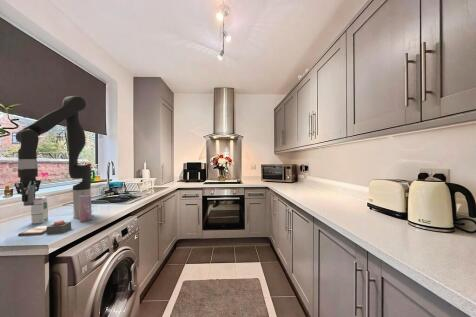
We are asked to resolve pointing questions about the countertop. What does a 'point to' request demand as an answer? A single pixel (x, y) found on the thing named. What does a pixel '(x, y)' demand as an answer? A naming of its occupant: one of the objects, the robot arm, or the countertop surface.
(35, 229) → the drawing board
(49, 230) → the button box
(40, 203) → the syrup box
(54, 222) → the button
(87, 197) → the tall pink box
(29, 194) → the green lidded grey container
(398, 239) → the countertop surface
